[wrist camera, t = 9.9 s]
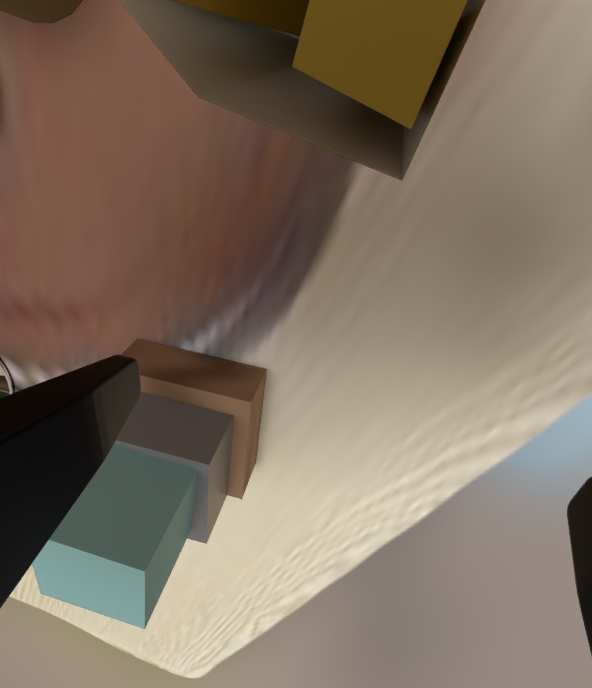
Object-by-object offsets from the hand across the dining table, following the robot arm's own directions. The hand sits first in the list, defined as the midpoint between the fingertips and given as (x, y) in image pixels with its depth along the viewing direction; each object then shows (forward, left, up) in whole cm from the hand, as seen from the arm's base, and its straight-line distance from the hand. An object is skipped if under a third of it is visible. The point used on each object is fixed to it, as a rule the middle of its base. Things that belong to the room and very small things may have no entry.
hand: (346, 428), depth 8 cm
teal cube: (+8, +13, -6) cm, 17 cm away
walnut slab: (+8, +13, -13) cm, 20 cm away
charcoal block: (+8, +13, -10) cm, 19 cm away
